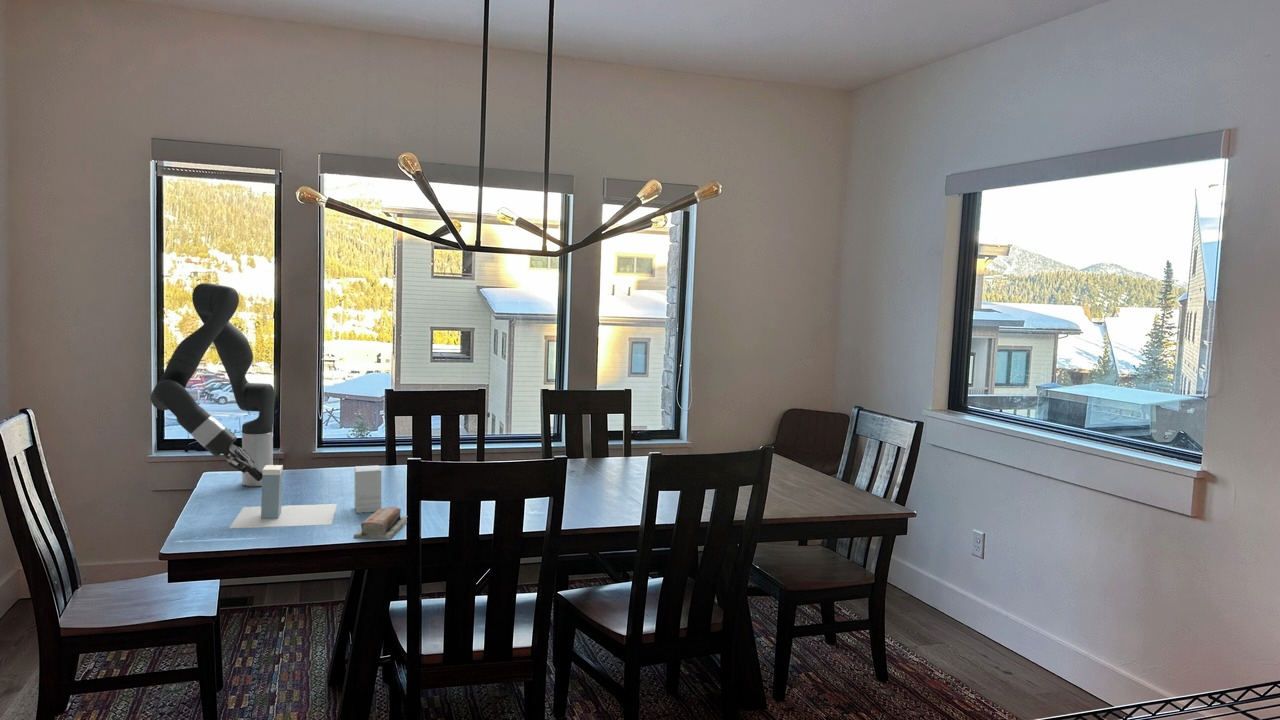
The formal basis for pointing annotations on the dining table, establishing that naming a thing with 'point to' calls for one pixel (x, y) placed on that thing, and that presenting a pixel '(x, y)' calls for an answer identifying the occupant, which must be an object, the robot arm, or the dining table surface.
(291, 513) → the mat
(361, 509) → the supplement box
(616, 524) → the dining table surface
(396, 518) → the packaged product
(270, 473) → the block
